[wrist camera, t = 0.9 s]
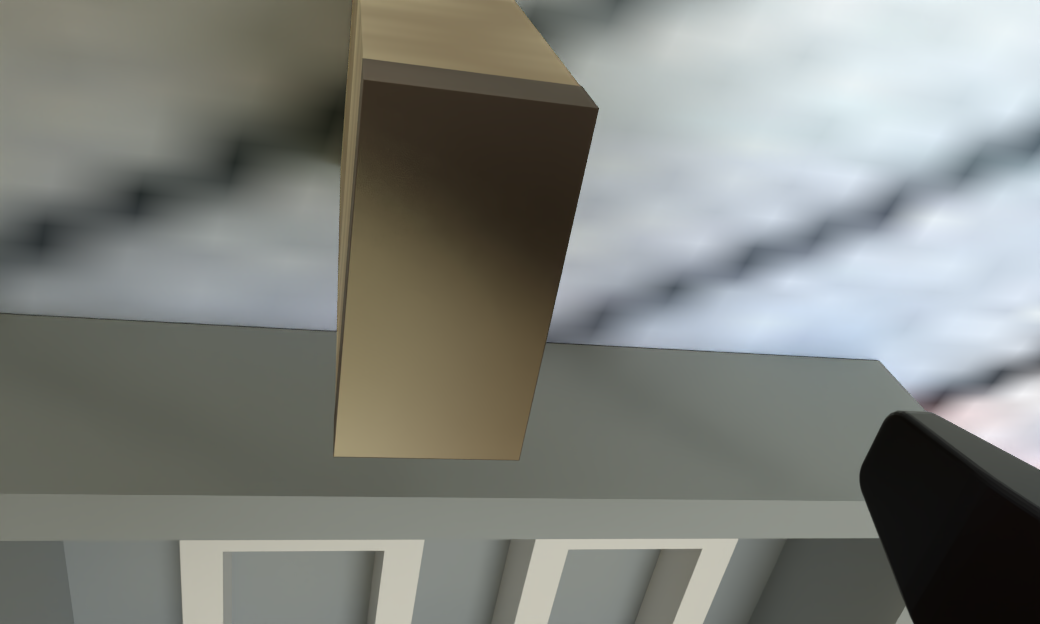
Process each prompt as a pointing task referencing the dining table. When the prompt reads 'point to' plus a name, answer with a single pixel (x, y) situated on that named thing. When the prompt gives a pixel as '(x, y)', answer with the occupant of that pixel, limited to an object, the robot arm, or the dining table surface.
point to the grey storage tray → (430, 489)
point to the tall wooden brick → (450, 225)
